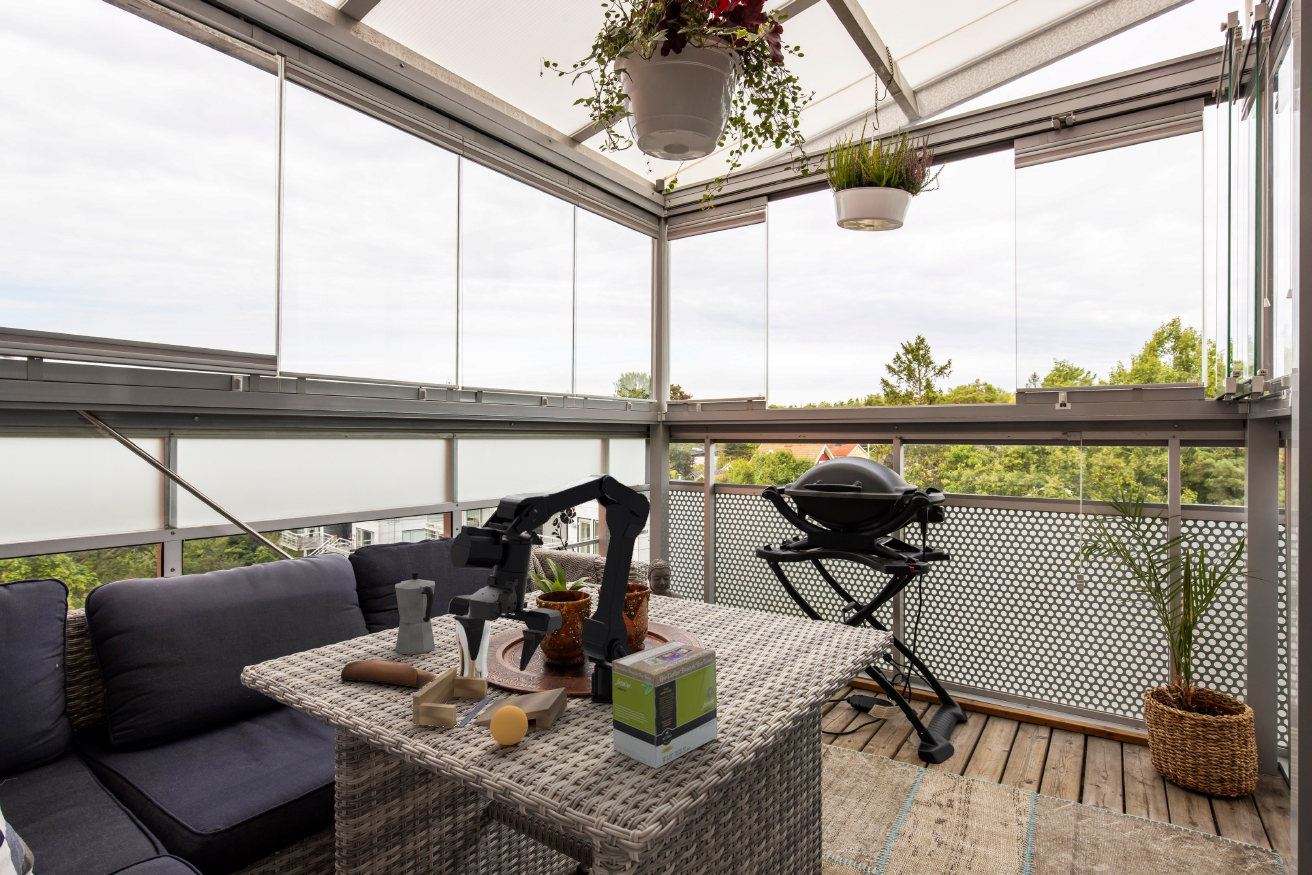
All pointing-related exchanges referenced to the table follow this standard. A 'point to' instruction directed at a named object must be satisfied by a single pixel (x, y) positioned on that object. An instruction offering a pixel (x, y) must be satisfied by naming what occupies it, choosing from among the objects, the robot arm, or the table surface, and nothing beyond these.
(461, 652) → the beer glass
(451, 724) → the wooden u-shaped bracket
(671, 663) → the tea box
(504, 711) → the ball
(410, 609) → the coffeepot
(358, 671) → the sunglasses case
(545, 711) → the ramp
